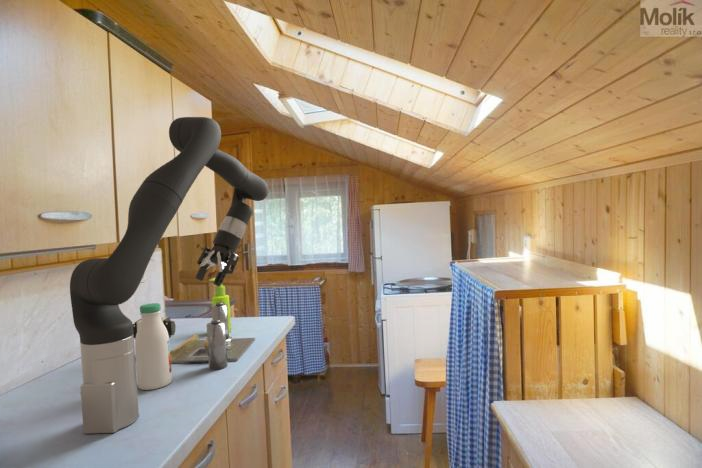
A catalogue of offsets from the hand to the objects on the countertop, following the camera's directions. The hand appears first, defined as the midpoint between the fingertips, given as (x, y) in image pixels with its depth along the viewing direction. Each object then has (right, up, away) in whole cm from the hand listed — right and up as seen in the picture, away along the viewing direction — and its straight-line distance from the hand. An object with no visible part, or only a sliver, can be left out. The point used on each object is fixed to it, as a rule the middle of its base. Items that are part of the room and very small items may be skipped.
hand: (207, 282), depth 123 cm
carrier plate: (+1, -22, +4) cm, 22 cm away
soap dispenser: (-4, -21, +25) cm, 33 cm away
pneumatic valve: (-17, -23, +3) cm, 29 cm away
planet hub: (+7, -22, -10) cm, 25 cm away
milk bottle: (-6, -23, -21) cm, 32 cm away
